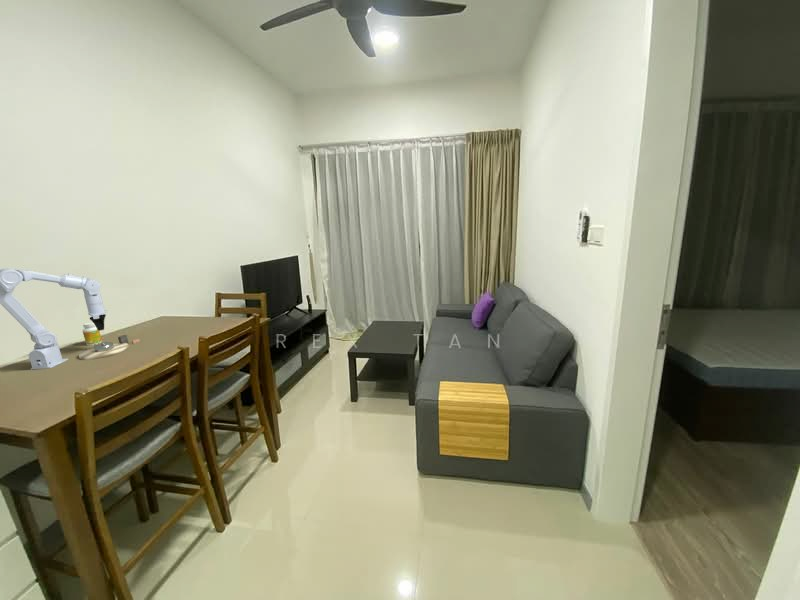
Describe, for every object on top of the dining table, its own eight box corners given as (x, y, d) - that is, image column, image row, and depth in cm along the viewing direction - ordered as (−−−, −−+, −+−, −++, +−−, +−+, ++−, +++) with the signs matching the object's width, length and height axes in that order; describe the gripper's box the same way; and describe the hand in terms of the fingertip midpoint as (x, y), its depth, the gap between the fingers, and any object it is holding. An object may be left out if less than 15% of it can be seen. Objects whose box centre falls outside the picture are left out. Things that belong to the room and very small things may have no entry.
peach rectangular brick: (133, 343, 168) (133, 341, 168) (132, 343, 168) (131, 340, 168) (140, 341, 171) (139, 339, 170) (138, 341, 171) (138, 338, 171)
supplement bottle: (94, 345, 167) (89, 325, 164) (82, 346, 167) (77, 325, 164) (105, 341, 173) (100, 321, 170) (94, 341, 173) (89, 321, 170)
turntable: (141, 344, 165) (139, 335, 164) (99, 360, 146) (96, 350, 145) (113, 343, 169) (111, 334, 168) (69, 358, 150) (66, 348, 149)
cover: (117, 346, 159) (116, 340, 158) (102, 352, 152) (100, 345, 152) (106, 346, 160) (104, 340, 160) (91, 351, 154) (89, 345, 153)
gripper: (104, 304, 152) (111, 331, 155) (106, 299, 163) (112, 325, 166) (84, 307, 148) (91, 334, 151) (87, 301, 159) (94, 328, 162)
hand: (101, 330), depth 159 cm, fingers closed
